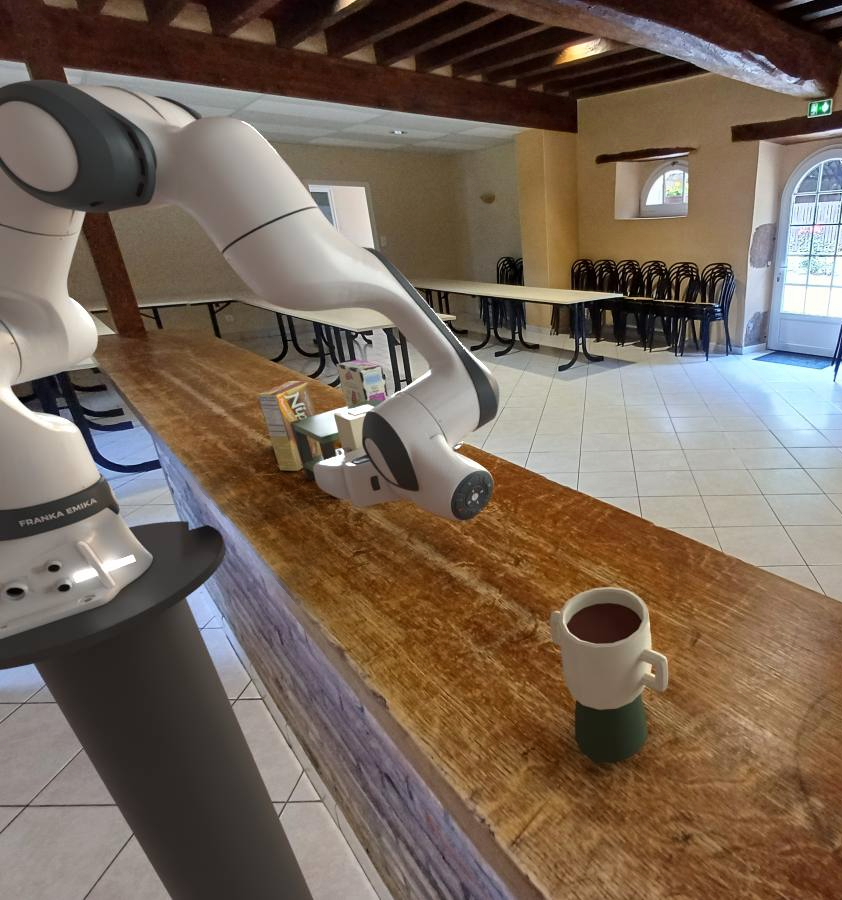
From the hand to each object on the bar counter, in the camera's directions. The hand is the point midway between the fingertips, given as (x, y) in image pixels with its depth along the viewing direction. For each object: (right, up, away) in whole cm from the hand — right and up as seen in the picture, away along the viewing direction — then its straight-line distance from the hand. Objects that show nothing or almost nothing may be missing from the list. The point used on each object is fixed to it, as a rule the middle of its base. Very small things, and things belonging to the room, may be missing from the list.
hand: (363, 446), depth 89 cm
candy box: (-21, -3, +20) cm, 29 cm away
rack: (-6, -5, +14) cm, 16 cm away
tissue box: (+1, -7, +2) cm, 7 cm away
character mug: (+39, -25, -41) cm, 62 cm away
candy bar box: (-11, +2, +31) cm, 32 cm away
